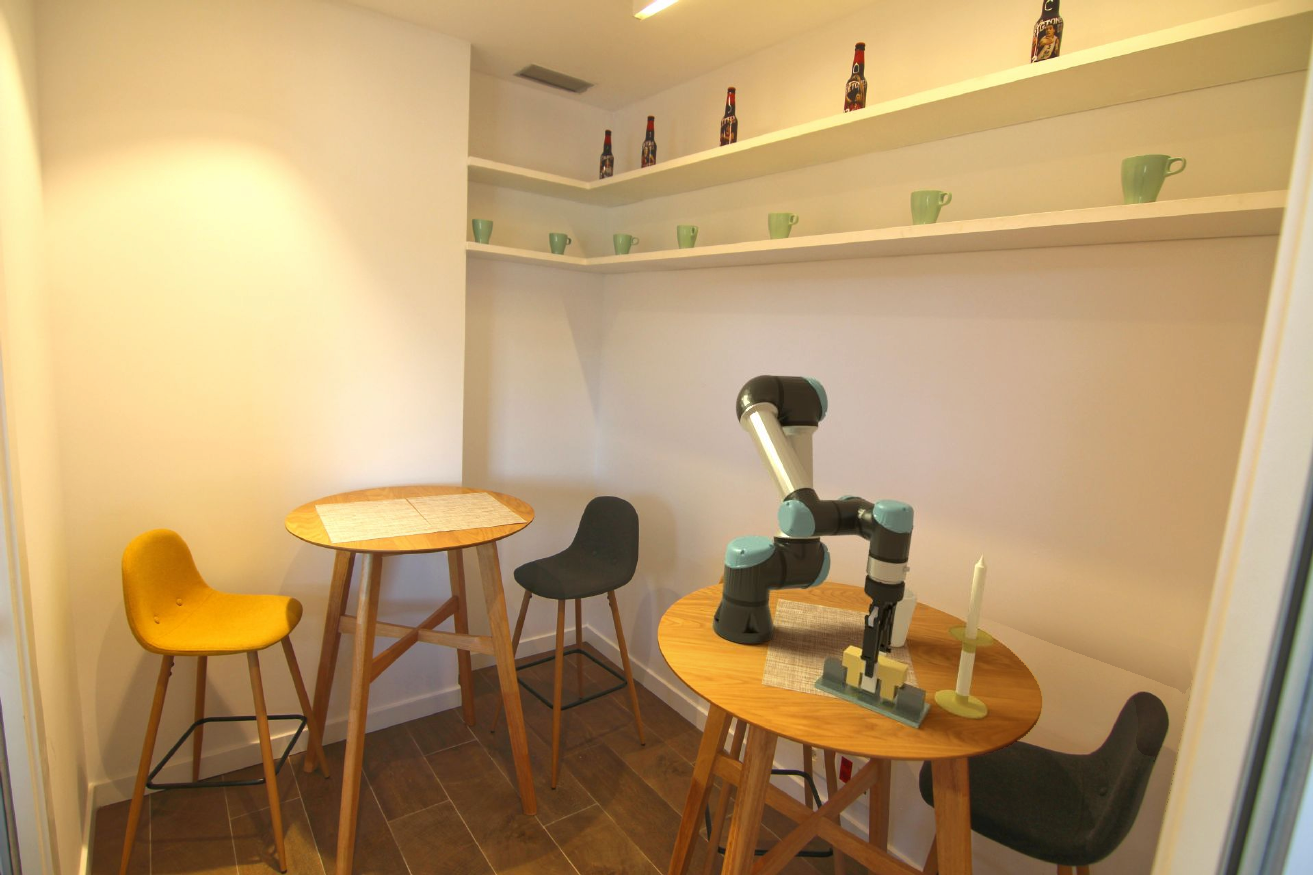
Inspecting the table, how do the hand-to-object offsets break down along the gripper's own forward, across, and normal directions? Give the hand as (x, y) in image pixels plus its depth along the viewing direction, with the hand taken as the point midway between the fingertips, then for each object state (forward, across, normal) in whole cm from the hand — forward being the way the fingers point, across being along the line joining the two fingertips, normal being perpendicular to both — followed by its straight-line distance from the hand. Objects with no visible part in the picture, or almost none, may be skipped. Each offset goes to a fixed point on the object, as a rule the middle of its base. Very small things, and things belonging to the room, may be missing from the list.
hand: (872, 684), depth 127 cm
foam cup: (+3, +30, +5) cm, 31 cm away
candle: (+3, +11, -15) cm, 19 cm away
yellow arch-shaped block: (+1, 0, 0) cm, 1 cm away
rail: (+3, 0, 0) cm, 3 cm away
